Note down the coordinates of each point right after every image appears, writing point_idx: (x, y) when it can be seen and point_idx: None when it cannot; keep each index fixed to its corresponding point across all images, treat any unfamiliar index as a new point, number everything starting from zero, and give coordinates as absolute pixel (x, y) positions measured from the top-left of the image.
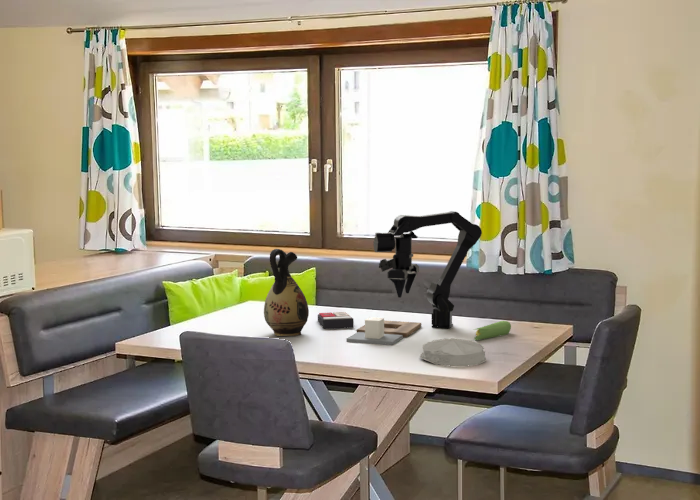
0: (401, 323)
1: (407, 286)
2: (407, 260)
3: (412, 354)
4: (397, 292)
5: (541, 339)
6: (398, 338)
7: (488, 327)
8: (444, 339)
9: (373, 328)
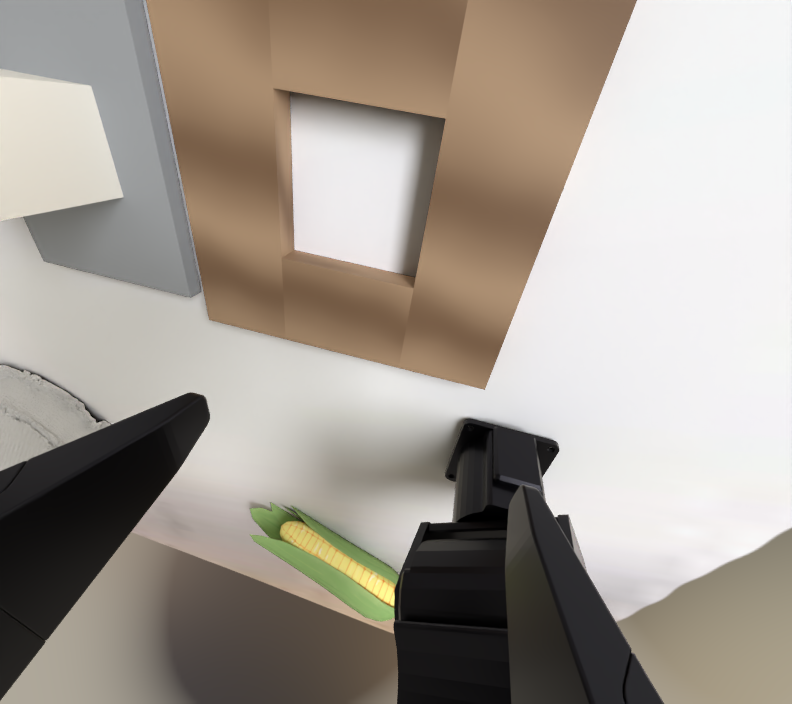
0: (454, 277)
1: (527, 600)
2: None
3: (6, 337)
4: (120, 429)
5: (342, 603)
6: (132, 280)
7: (298, 569)
8: (3, 456)
9: None
